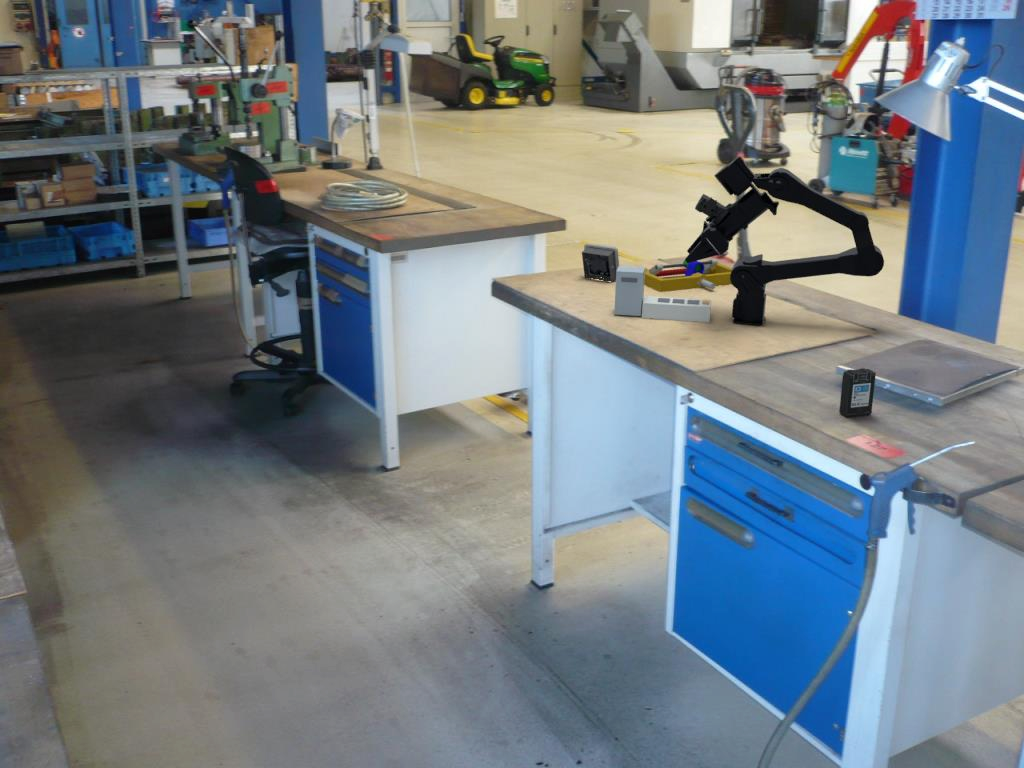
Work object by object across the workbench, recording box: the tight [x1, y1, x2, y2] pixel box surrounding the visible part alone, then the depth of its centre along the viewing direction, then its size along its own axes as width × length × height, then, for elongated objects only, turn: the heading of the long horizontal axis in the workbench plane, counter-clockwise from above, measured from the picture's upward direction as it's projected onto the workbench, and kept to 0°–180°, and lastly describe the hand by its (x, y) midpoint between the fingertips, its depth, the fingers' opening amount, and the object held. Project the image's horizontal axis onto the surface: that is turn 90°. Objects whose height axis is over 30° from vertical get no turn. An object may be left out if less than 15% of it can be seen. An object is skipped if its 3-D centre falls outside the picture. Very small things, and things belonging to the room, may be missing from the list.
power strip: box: [641, 295, 712, 323], centre depth 246 cm, size 15×17×4 cm
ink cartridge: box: [839, 367, 877, 419], centre depth 183 cm, size 5×2×8 cm, turn 105°
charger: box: [613, 265, 646, 317], centre depth 242 cm, size 8×6×10 cm
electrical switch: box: [581, 242, 620, 283], centre depth 272 cm, size 9×5×9 cm, turn 57°
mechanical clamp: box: [644, 258, 733, 293], centre depth 270 cm, size 18×6×30 cm
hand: (687, 256), depth 237 cm, fingers open, 9 cm apart
